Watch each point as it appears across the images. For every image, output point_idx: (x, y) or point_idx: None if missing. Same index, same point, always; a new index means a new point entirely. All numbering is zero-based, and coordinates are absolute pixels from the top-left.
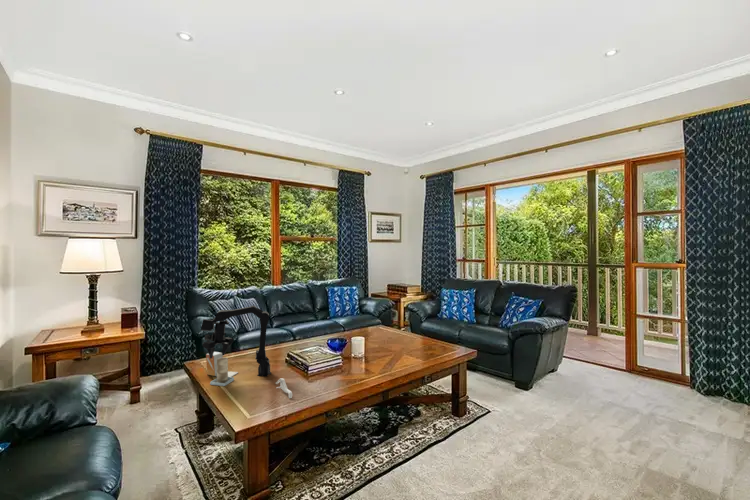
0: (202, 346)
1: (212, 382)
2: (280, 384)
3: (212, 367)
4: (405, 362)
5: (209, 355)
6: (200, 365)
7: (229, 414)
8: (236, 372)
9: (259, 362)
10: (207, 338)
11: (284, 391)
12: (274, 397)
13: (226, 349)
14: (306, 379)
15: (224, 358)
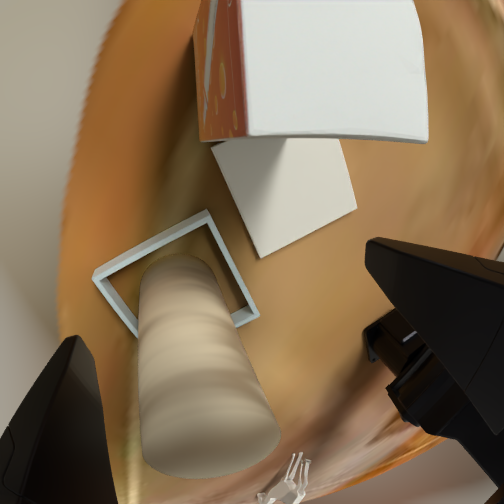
0: None
1: (103, 293)
2: (287, 487)
3: (205, 101)
4: None
5: (42, 385)
6: None
7: None
8: (348, 204)
9: (396, 407)
10: None
11: (271, 489)
12: (238, 486)
13: (445, 353)
14: (384, 427)
15: (240, 448)
